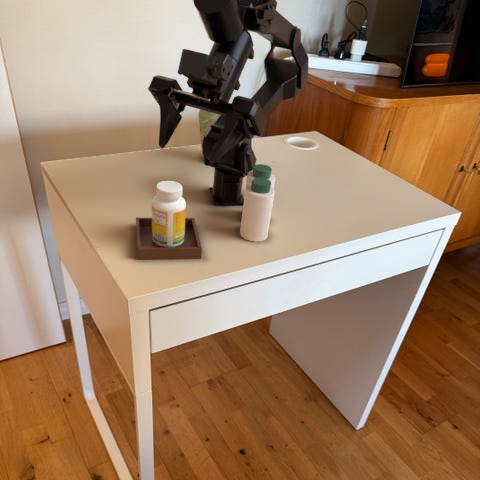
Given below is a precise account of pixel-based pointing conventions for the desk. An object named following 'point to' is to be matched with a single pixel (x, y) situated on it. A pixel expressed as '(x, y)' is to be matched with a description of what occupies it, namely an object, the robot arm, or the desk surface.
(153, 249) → the tray
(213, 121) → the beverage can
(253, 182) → the white bottle
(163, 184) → the supplement bottle
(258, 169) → the white bottle
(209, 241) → the desk surface
